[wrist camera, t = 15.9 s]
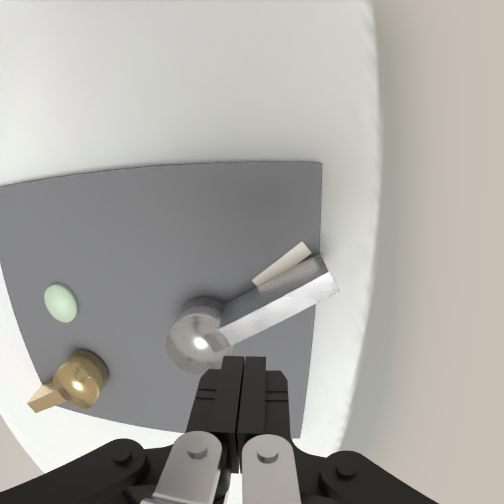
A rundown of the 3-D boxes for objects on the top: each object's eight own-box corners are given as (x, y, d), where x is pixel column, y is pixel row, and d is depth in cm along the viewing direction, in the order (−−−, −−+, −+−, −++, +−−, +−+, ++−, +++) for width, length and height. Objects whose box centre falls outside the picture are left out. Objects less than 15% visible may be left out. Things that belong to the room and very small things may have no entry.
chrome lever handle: (201, 354, 27) (192, 383, 24) (167, 312, 26) (152, 337, 22) (338, 285, 24) (349, 309, 21) (309, 233, 23) (316, 249, 19)
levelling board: (-3, 187, 25) (-17, 191, 23) (318, 162, 23) (323, 164, 21) (56, 398, 34) (49, 408, 32) (299, 428, 32) (300, 443, 30)
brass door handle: (86, 343, 28) (68, 365, 24) (117, 378, 29) (102, 403, 25) (33, 375, 31) (17, 393, 27) (58, 403, 32) (45, 422, 28)
